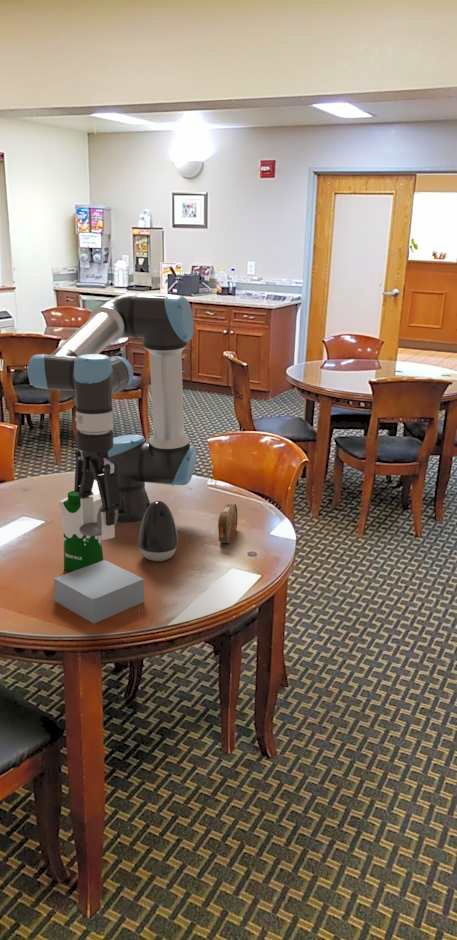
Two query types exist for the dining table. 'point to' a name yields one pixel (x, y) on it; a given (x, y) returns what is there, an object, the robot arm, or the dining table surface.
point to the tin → (227, 523)
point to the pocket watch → (96, 525)
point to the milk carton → (79, 534)
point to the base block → (99, 591)
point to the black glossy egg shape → (158, 533)
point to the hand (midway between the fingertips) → (97, 531)
